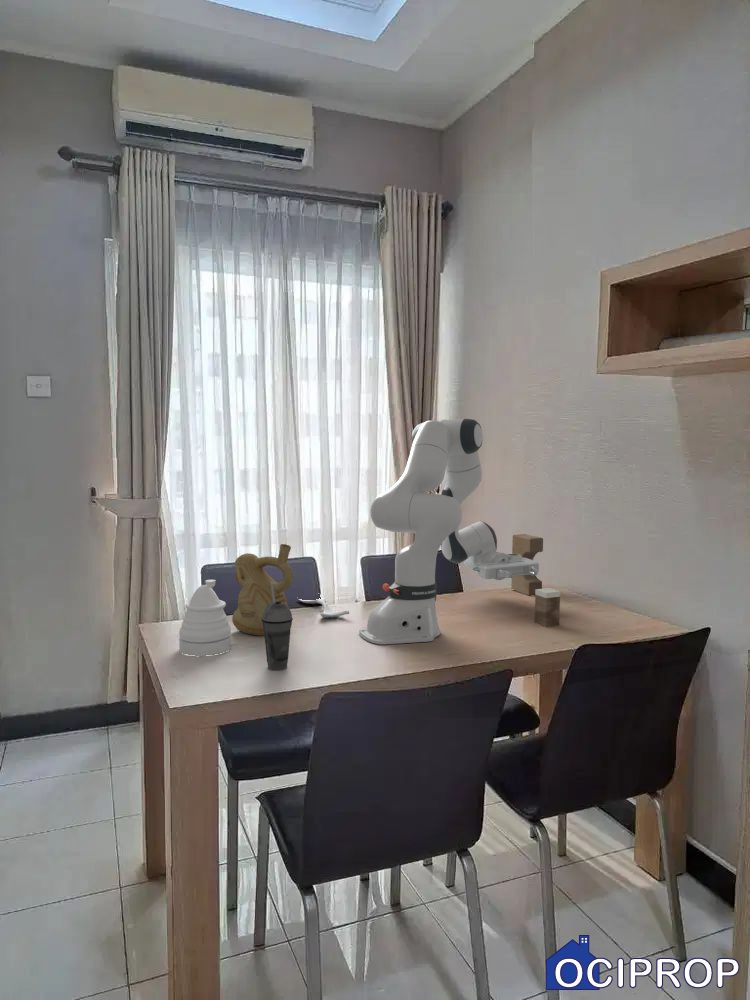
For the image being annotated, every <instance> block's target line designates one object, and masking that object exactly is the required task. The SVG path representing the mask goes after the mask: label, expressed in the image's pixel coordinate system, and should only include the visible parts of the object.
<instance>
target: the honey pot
mask: <svg viewBox="0 0 750 1000" xmlns="http://www.w3.org/2000/svg"><path fill="white" fill-rule="evenodd" d="M216 580H217V579H206V580H205V584H201V585H200V586H199V587H197V589H196V590H195V591H194V592H193V595H192V596H191V598H190V600H189V602H187V603H186V604H185V609H186V611H185V614H184V616H183V618H182V622H181V626H180V628H179V632H178V634H179V636H178V637H179V638H178V641H179V643H178V644H179V645H178V646H179V653H180V652H181V653H183V654H188V655H195V656H206V655H215V654H220V653H223V652H226V651H228V650H229V651H231V649H232V635H231V634H232V633H231V631H232V630H231V626H230V624H229V620H228V619H227V614H226V613H225V611H224V609H225V607H226V605H227V603H226V601H224V600H221V599H219V597H218V595H217V594H216V592H215V591H214V589H213V588H214V587H215V586H216V582H217V581H216ZM230 648H231V649H230ZM229 651H228V652H229ZM181 653H180V654H181ZM226 653H227V652H226ZM183 654H182V655H183ZM223 654H224V653H223ZM220 655H221V654H220Z"/></svg>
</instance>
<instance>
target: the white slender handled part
mask: <svg viewBox="0 0 750 1000" xmlns="http://www.w3.org/2000/svg"><path fill="white" fill-rule="evenodd" d="M319 594H320V597H321V599H320V598H319V599H316V600H302V599H298V600H299V601H300V602H302V603H304V604H308V605H309V604H310V605H315V604H320V605H322V607H323V612H321V613H319V615H320V616H321V617H323V618H329V617H330V618H338V617H340V616H344V615H349V614H350V611H349V610H344V611H336V610H333V609H331V608H330V607H329V605H328V604H327V603H326V602H327V600H326V599H327V598H326V596H325V595H322V594H321V593H319ZM330 618H329V619H330Z"/></svg>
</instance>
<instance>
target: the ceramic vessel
mask: <svg viewBox="0 0 750 1000" xmlns="http://www.w3.org/2000/svg"><path fill="white" fill-rule="evenodd" d="M291 548H292V546H291V545H289V544H285V543H281V544H280V545H279V552H278V556H277V557H275V556H261V557H258V556H257V555H256V554H254V553H250V552H249V553H244V554H243V553H242V554H241V555H239V556H238V557H237V558H236V559H235V562H234V567H235V569H234V578H235V582H236V583H237V584H238V585H239V586H241V587H242V588H241V590H240V591H239V594H238V597H237V609H236V610H235V611H234V612H233V614H232V617H231V618H232V619H231V621H232V625H234V627H235V629H236V630H237V631H238V632H241V631H242V632H243V633H245V634H248V635H252V634H253V636H262V635H264V628H263V624H262V615H263V612H264V610H265V608H266V607H267V606H268V605H269V604H271V603H273V598H272V591H271V584H273V589H274V597H275V602H282V603H284V604H286V605H287V606H288V607H289V605H288V601H287V598H286V595H285V594H286V593H285V591H287V590H288V589H289V588H290V586H291V585H292V583H293V580H294V575H293V573H294V572H293V569H292V567H291V565H290V564H289V563H288V559H289V556H290V552H291V550H292V549H291ZM267 566H272V567H276V568H277V569H279V570H281V573H282V575H283V578H282V580H281V581H280V582H277V581H276V580H274V579H273V578H272V577H271V576H270V575H269V574H268V573H267V571H266V570H265V568H264V567H267ZM242 632H241V633H242ZM264 636H265V635H264Z"/></svg>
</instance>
